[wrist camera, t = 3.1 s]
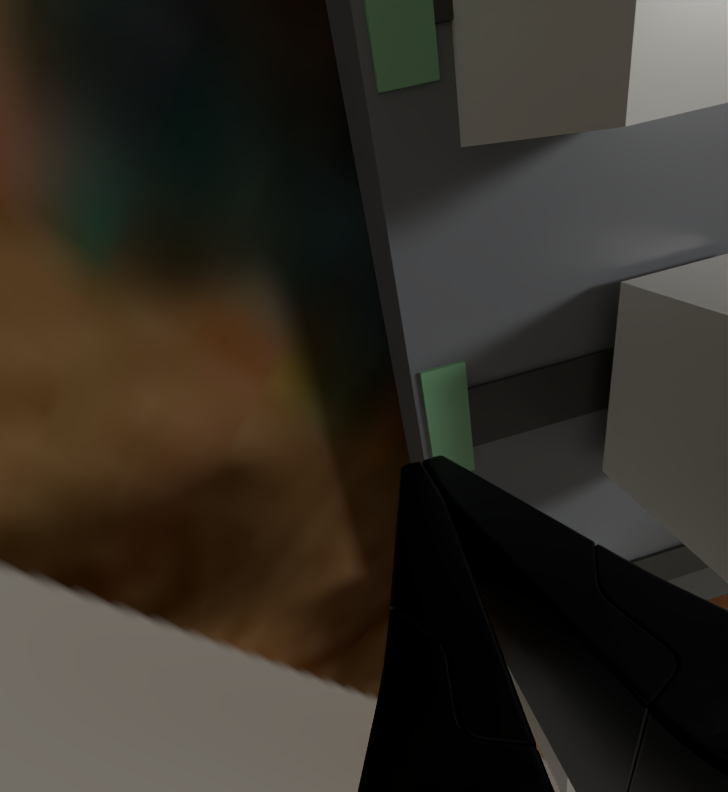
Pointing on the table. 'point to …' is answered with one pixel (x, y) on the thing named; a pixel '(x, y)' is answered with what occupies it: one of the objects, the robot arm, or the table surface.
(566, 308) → the breaker panel
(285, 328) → the table surface
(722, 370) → the handle
